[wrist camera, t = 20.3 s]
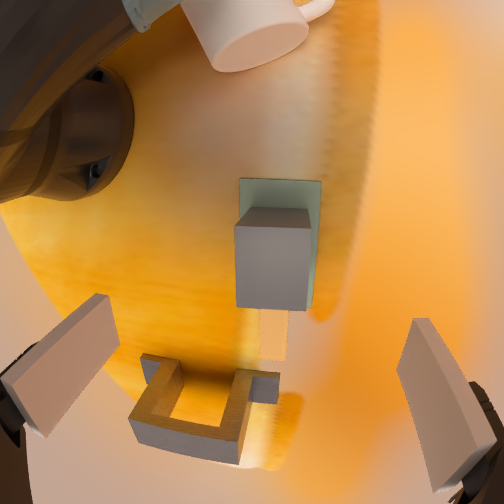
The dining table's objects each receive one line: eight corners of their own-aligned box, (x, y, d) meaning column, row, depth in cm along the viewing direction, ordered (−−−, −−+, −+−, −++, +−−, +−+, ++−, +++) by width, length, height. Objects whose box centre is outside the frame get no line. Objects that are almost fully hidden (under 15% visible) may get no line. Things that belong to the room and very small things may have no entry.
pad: (240, 178, 26) (239, 178, 25) (321, 181, 25) (321, 182, 24) (240, 301, 30) (239, 302, 29) (311, 306, 29) (311, 307, 28)
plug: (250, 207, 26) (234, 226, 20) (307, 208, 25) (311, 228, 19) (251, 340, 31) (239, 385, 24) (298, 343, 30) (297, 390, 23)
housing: (143, 353, 34) (103, 410, 24) (280, 372, 32) (271, 446, 22) (149, 379, 36) (115, 435, 26) (277, 398, 33) (268, 468, 24)
